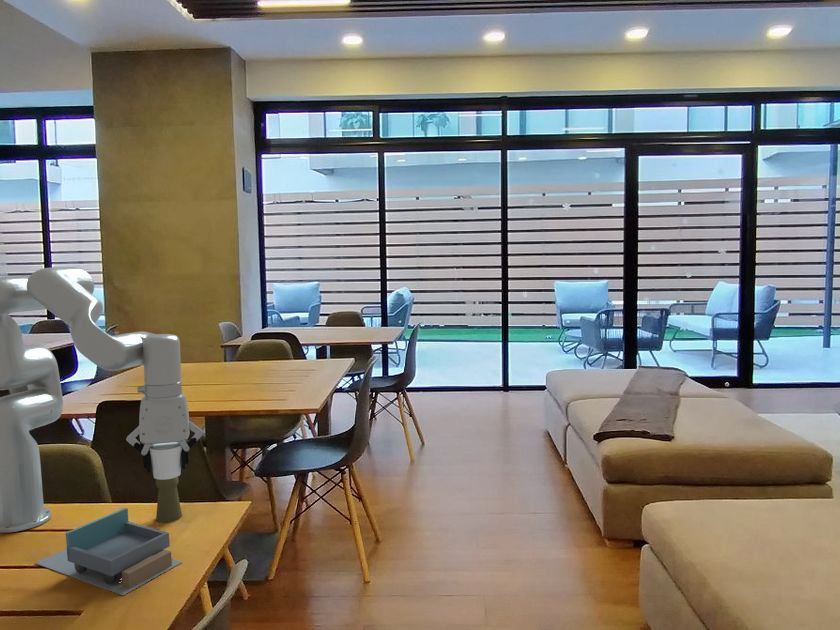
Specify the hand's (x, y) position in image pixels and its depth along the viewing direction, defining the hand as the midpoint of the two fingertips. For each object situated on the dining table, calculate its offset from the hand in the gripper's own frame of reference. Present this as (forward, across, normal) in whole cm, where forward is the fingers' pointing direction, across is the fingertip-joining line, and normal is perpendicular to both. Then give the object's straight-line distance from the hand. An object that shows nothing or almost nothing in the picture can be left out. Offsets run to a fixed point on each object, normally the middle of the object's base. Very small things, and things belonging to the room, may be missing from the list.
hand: (167, 468), depth 137 cm
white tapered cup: (+2, 0, 0) cm, 2 cm away
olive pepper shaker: (+17, -1, +14) cm, 22 cm away
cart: (+17, -9, -9) cm, 21 cm away
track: (+17, -12, -7) cm, 22 cm away
